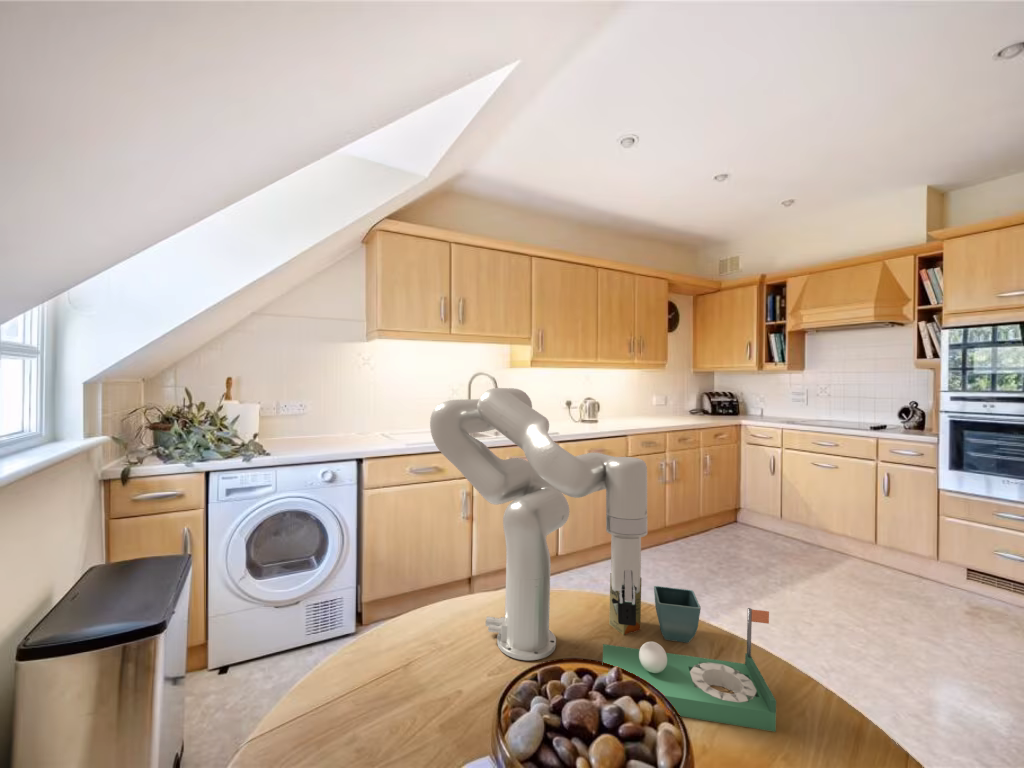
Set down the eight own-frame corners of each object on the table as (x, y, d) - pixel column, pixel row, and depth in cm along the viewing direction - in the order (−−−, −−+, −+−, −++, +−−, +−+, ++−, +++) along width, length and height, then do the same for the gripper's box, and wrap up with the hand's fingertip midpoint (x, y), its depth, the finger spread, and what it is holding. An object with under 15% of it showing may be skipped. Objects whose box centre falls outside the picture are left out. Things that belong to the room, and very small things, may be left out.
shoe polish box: (623, 635, 99) (624, 581, 99) (609, 624, 103) (610, 572, 103) (640, 630, 101) (641, 577, 101) (625, 619, 105) (626, 569, 105)
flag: (746, 684, 83) (748, 609, 83) (745, 681, 84) (747, 607, 84) (768, 687, 82) (769, 611, 82) (766, 684, 83) (768, 610, 83)
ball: (639, 677, 80) (640, 649, 80) (637, 660, 85) (638, 634, 85) (668, 681, 79) (669, 653, 79) (664, 664, 84) (665, 638, 84)
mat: (602, 703, 77) (603, 674, 77) (602, 658, 90) (603, 634, 90) (775, 731, 71) (776, 700, 72) (749, 680, 84) (749, 653, 84)
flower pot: (700, 650, 94) (701, 608, 94) (657, 644, 95) (658, 602, 95) (692, 628, 102) (693, 589, 102) (652, 623, 104) (653, 585, 104)
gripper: (605, 512, 91) (606, 602, 90) (606, 535, 76) (606, 642, 76) (643, 514, 89) (644, 606, 89) (651, 538, 75) (652, 647, 74)
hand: (626, 622), depth 82 cm, fingers closed
